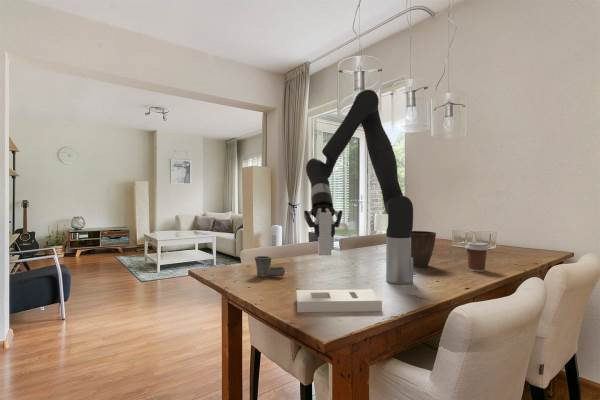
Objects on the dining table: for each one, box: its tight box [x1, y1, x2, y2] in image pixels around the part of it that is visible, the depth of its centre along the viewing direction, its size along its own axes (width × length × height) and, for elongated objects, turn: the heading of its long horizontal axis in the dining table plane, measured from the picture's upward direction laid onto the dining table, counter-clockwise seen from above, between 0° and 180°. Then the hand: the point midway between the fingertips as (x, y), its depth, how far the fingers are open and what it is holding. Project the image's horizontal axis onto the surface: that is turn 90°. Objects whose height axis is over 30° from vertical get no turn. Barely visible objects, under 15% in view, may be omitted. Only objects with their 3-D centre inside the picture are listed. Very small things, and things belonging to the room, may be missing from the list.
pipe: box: [254, 255, 286, 278], centre depth 129 cm, size 6×13×8 cm, turn 78°
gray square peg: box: [317, 212, 332, 257], centre depth 104 cm, size 4×4×14 cm
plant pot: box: [411, 230, 437, 268], centre depth 150 cm, size 15×15×16 cm
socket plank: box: [296, 288, 383, 313], centre depth 94 cm, size 24×11×3 cm, turn 92°
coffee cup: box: [465, 241, 489, 273], centre depth 140 cm, size 9×9×12 cm
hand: (325, 235), depth 103 cm, fingers closed on gray square peg, 4 cm apart
